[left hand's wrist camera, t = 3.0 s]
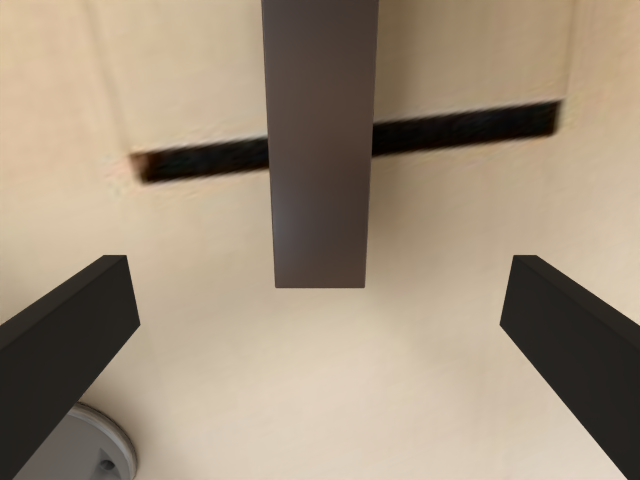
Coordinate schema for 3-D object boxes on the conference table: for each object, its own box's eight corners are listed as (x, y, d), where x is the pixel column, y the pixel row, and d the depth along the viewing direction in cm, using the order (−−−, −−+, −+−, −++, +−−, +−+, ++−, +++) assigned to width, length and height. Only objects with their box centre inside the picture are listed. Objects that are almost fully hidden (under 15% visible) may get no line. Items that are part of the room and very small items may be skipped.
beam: (350, 230, 29) (365, 288, 20) (289, 230, 29) (274, 288, 20) (365, -254, 20) (407, -586, 10) (274, -254, 20) (232, -586, 10)
